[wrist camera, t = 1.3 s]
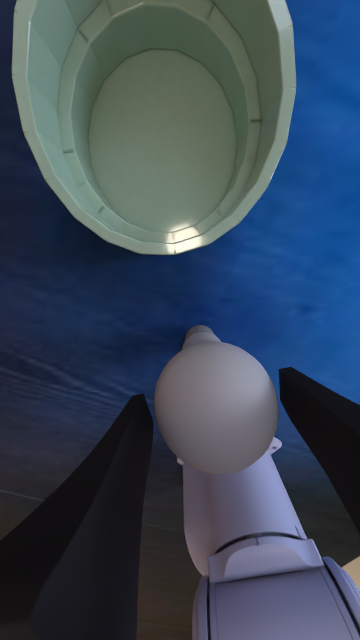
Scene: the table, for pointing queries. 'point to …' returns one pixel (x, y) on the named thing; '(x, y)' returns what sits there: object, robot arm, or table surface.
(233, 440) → the lightbulb
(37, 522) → the robot arm
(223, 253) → the table surface
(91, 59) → the bowl
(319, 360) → the table surface
